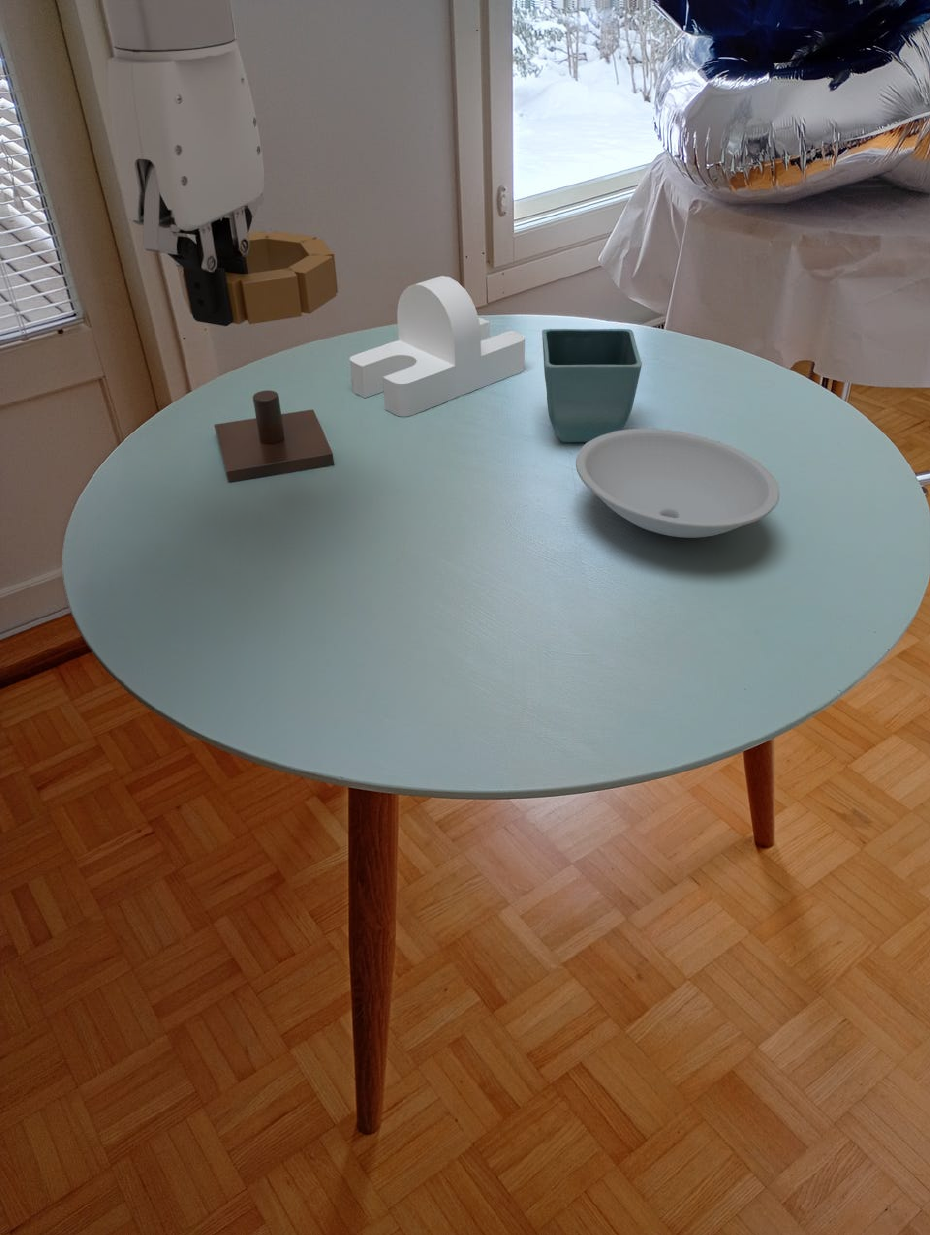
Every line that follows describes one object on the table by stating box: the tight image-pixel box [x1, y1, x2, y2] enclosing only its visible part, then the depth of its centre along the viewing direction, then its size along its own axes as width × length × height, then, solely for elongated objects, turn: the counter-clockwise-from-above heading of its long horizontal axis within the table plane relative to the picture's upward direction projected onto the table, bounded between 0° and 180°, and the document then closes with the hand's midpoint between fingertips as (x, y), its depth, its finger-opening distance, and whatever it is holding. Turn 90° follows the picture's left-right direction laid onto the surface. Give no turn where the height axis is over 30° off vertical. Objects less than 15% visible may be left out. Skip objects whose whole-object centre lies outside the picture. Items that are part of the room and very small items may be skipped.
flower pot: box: [541, 328, 643, 443], centre depth 95 cm, size 9×9×9 cm
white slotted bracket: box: [349, 275, 526, 418], centre depth 105 cm, size 10×18×11 cm, turn 131°
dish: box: [575, 428, 780, 539], centre depth 83 cm, size 18×14×5 cm
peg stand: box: [214, 390, 335, 483], centre depth 94 cm, size 10×10×6 cm
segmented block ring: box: [177, 230, 339, 325], centre depth 74 cm, size 11×11×3 cm
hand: (223, 314), depth 72 cm, fingers closed on segmented block ring
